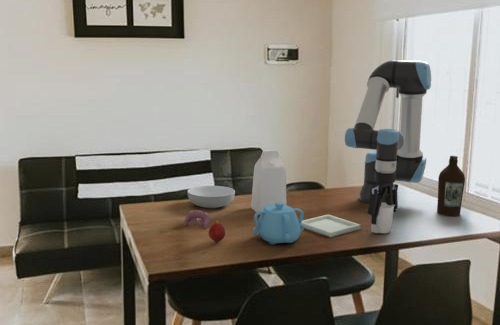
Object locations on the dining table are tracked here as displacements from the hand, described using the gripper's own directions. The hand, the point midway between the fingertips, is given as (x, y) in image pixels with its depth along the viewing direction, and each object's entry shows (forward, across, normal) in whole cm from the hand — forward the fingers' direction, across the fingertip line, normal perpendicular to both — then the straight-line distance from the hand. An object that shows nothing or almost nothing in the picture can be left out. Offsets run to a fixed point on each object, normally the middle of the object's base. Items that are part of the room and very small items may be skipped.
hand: (381, 229), depth 206 cm
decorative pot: (+1, -37, +17) cm, 41 cm away
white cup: (+1, 0, 0) cm, 1 cm away
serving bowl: (+1, -31, +68) cm, 75 cm away
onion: (+1, -57, +27) cm, 63 cm away
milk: (+1, -15, +48) cm, 50 cm away
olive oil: (+2, +46, 0) cm, 46 cm away
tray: (+1, -12, +16) cm, 20 cm away
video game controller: (+1, -52, +47) cm, 70 cm away
